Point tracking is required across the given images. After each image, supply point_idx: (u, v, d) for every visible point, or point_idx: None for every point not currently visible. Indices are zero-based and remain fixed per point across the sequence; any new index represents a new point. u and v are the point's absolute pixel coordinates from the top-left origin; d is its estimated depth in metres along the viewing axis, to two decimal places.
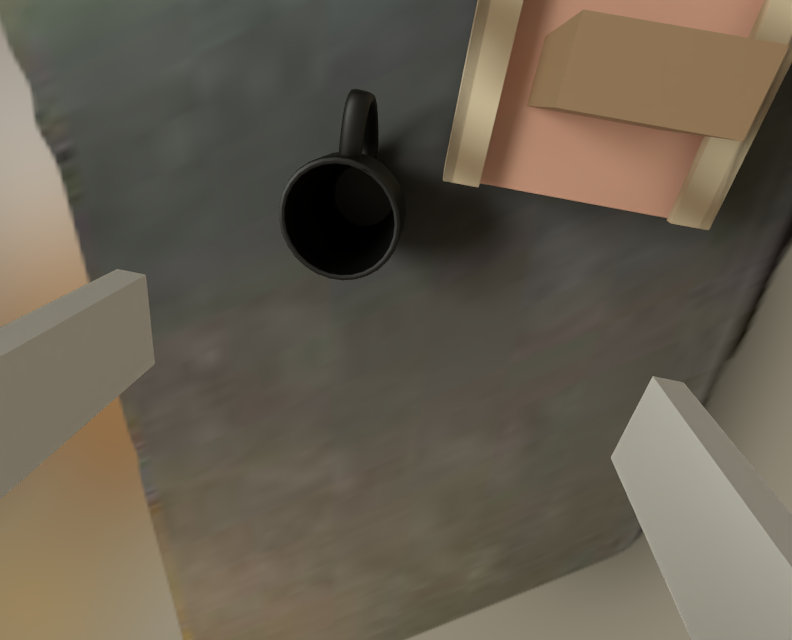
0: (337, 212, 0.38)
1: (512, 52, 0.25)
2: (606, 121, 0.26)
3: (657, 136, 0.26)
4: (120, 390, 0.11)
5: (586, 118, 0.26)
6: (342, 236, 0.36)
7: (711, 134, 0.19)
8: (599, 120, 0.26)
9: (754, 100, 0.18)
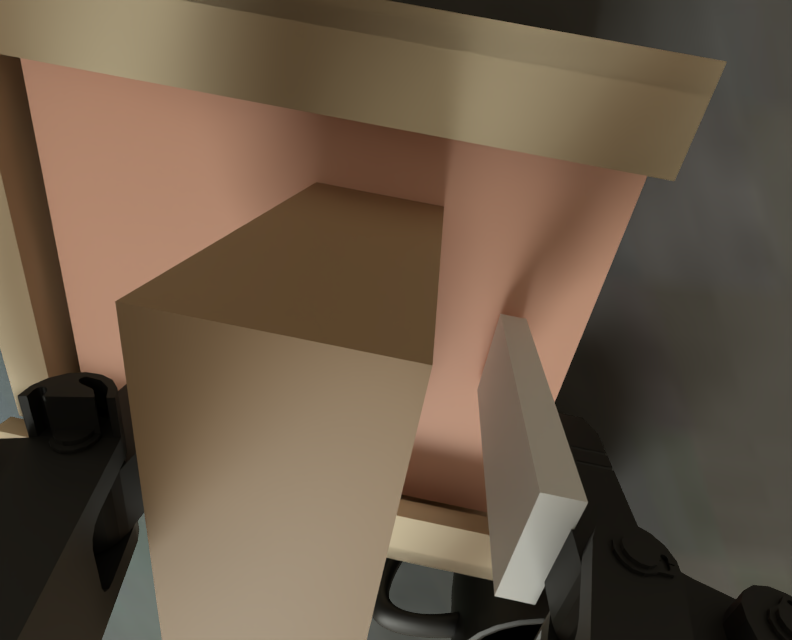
0: None
1: None
2: None
3: (455, 215, 0.12)
4: None
5: None
6: None
7: (406, 456, 0.05)
8: None
9: (292, 362, 0.05)
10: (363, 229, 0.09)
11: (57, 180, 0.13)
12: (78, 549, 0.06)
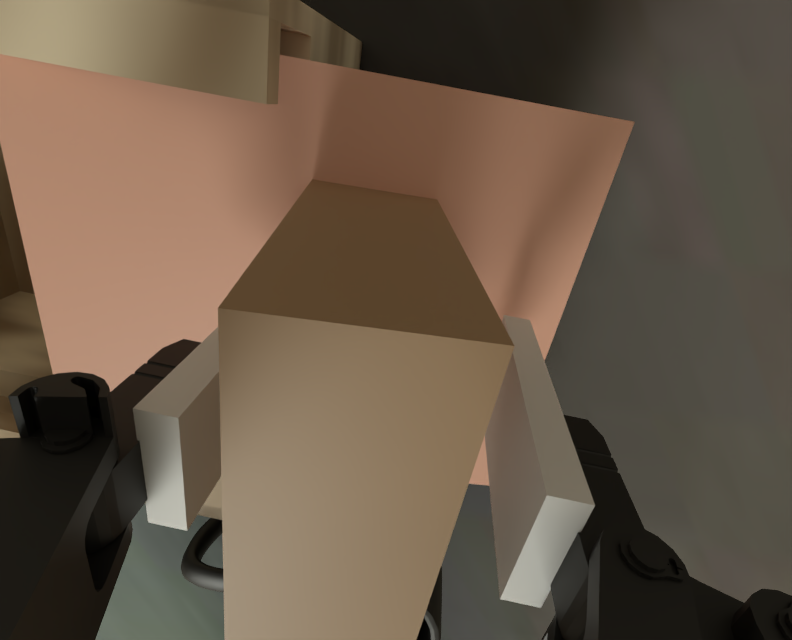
0: None
1: None
2: None
3: (448, 207, 0.13)
4: None
5: None
6: None
7: (483, 429, 0.06)
8: None
9: (387, 353, 0.05)
10: (384, 226, 0.09)
11: (26, 184, 0.12)
12: (70, 549, 0.05)
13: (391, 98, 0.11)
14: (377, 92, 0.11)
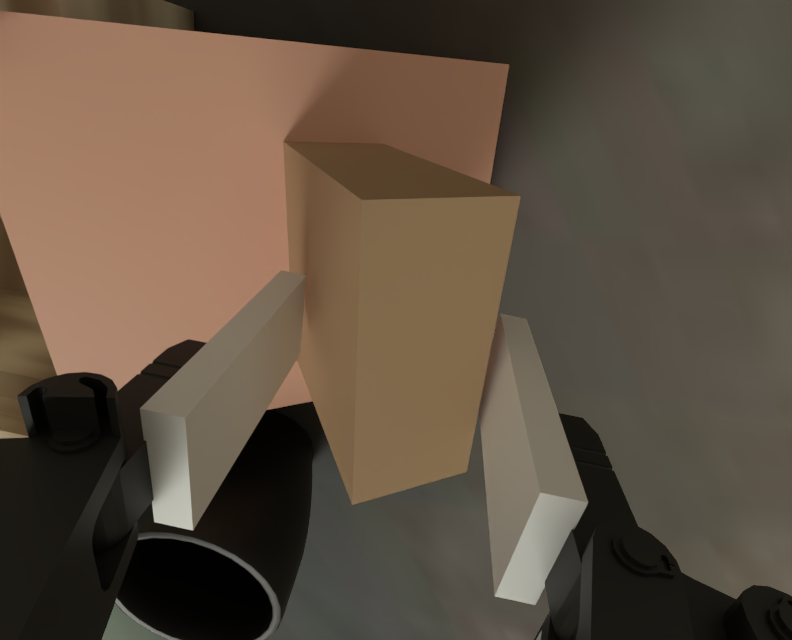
0: None
1: None
2: None
3: None
4: (285, 376, 0.13)
5: None
6: None
7: (506, 256, 0.10)
8: None
9: (455, 213, 0.09)
10: (377, 160, 0.12)
11: (10, 186, 0.12)
12: (77, 549, 0.05)
13: (338, 64, 0.14)
14: (326, 60, 0.14)
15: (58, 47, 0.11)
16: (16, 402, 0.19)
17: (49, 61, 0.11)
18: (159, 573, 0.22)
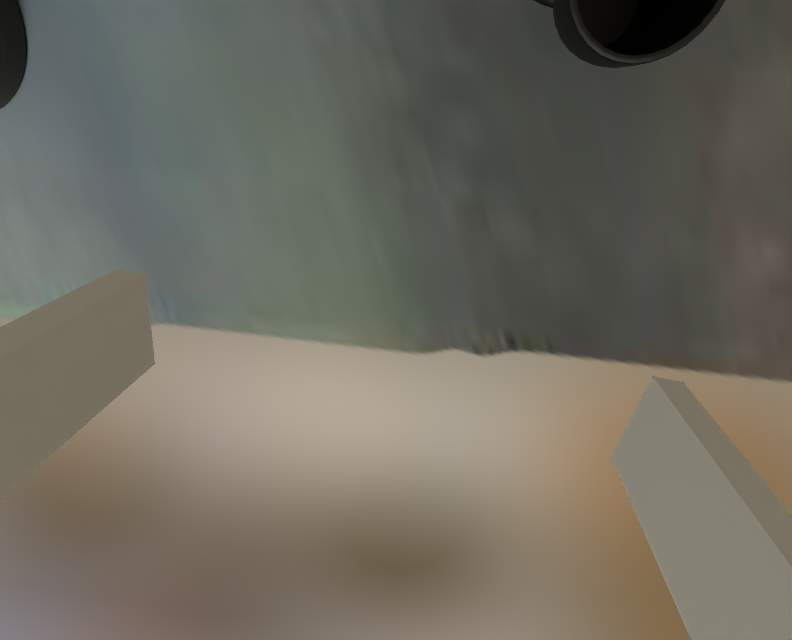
0: (613, 42, 0.31)
1: None
2: None
3: None
4: (120, 390, 0.11)
5: None
6: (651, 23, 0.28)
7: None
8: None
9: None
10: None
11: None
12: None
13: None
14: None
15: None
16: None
17: None
18: None
